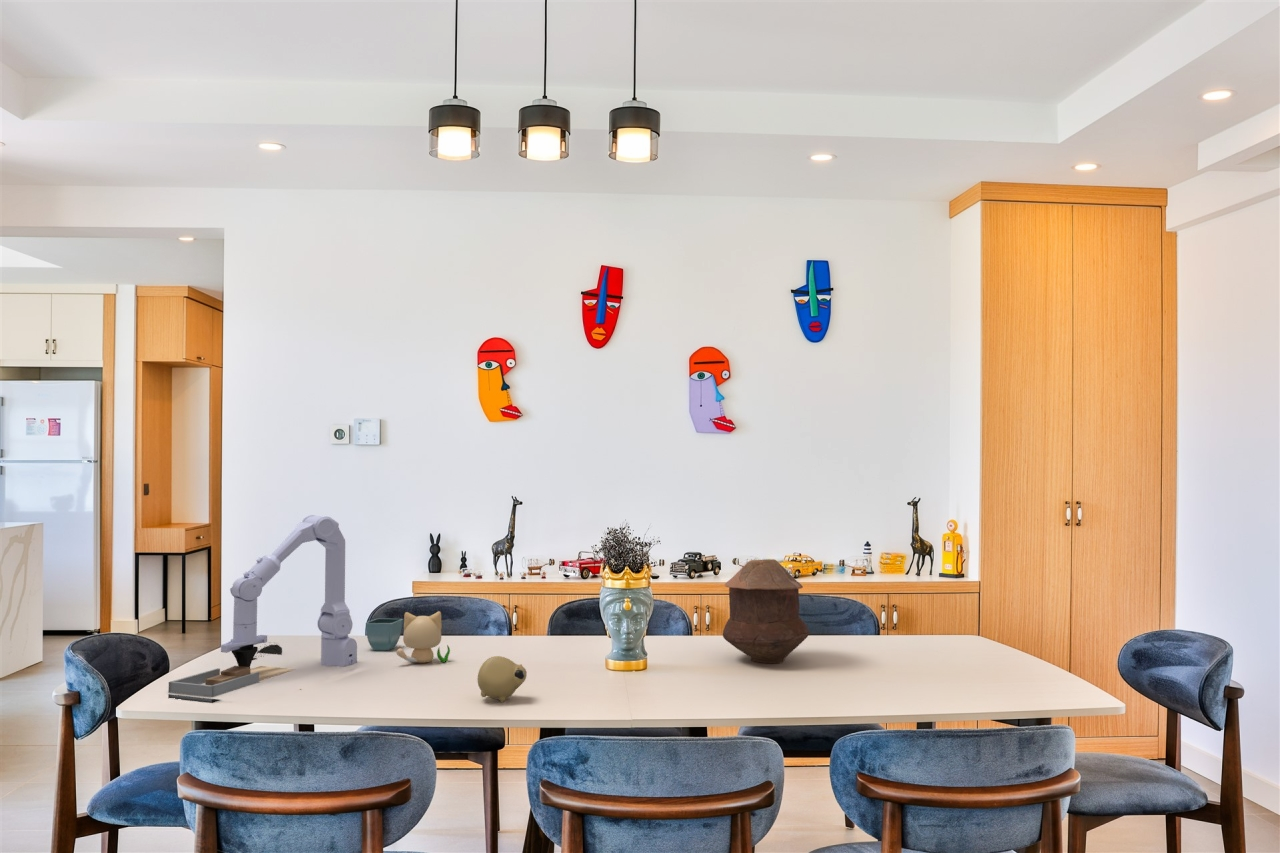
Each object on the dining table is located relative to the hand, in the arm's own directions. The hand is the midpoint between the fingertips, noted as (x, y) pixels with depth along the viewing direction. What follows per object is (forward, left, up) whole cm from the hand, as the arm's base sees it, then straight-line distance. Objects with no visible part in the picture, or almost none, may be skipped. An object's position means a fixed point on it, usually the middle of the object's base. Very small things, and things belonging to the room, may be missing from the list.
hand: (243, 674), depth 234 cm
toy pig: (-72, -8, -3) cm, 72 cm away
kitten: (-31, -38, -3) cm, 49 cm away
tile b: (0, +8, -2) cm, 8 cm away
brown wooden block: (0, +3, -1) cm, 3 cm away
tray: (0, +10, -2) cm, 10 cm away
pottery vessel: (-126, -73, -2) cm, 146 cm away
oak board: (0, -5, -2) cm, 6 cm away
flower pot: (-9, -50, -3) cm, 51 cm away
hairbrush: (+15, -21, -3) cm, 27 cm away
